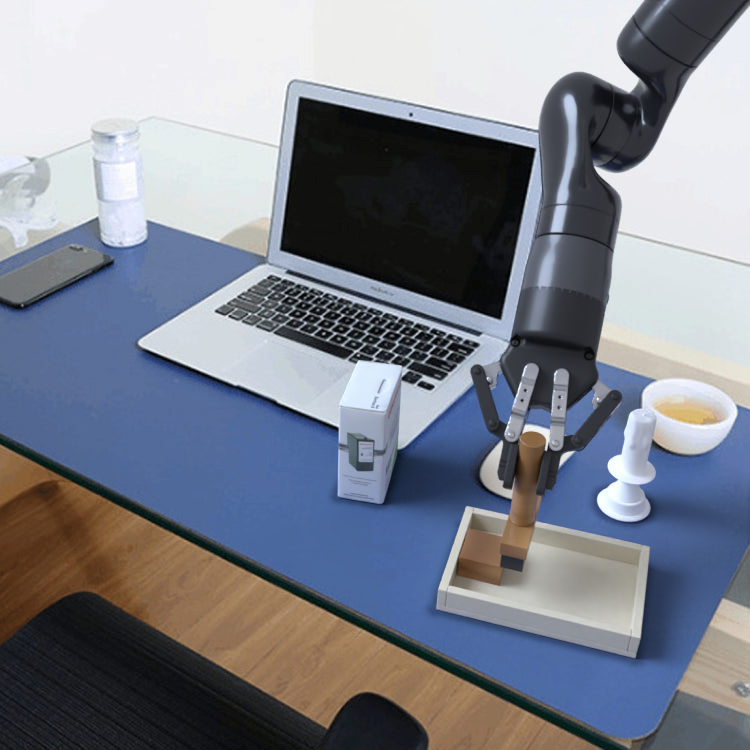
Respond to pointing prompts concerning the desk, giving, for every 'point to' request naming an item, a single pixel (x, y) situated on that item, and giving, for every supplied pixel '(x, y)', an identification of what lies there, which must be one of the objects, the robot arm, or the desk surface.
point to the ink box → (369, 431)
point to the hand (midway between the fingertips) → (524, 491)
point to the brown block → (481, 558)
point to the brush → (523, 502)
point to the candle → (631, 471)
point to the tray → (556, 586)
